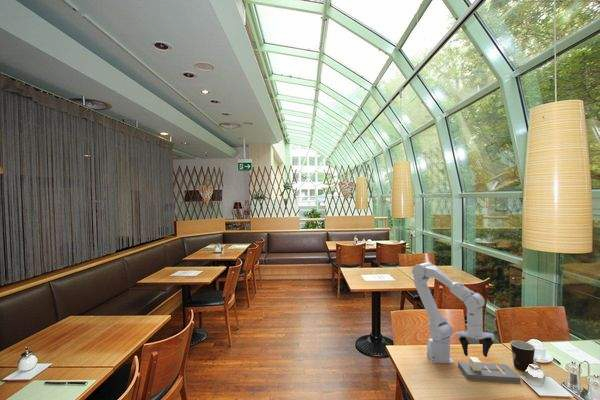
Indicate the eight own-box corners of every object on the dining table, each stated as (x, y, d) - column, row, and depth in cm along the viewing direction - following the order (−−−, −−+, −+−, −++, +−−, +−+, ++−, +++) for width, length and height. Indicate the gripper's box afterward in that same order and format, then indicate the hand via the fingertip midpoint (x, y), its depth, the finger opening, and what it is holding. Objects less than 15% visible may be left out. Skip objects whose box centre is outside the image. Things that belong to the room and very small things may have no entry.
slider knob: (473, 370, 126) (473, 361, 126) (469, 365, 131) (469, 356, 131) (481, 371, 126) (481, 362, 126) (476, 365, 130) (476, 357, 130)
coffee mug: (535, 376, 126) (535, 351, 126) (510, 369, 131) (510, 346, 131) (534, 363, 136) (534, 341, 136) (511, 358, 141) (510, 336, 141)
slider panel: (467, 379, 124) (467, 374, 124) (458, 366, 134) (458, 361, 134) (520, 382, 122) (520, 377, 122) (506, 369, 132) (506, 364, 132)
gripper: (460, 326, 125) (461, 359, 125) (498, 327, 124) (498, 361, 123) (454, 319, 132) (454, 350, 132) (489, 320, 131) (489, 352, 131)
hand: (475, 355), depth 128 cm, fingers open, 7 cm apart
